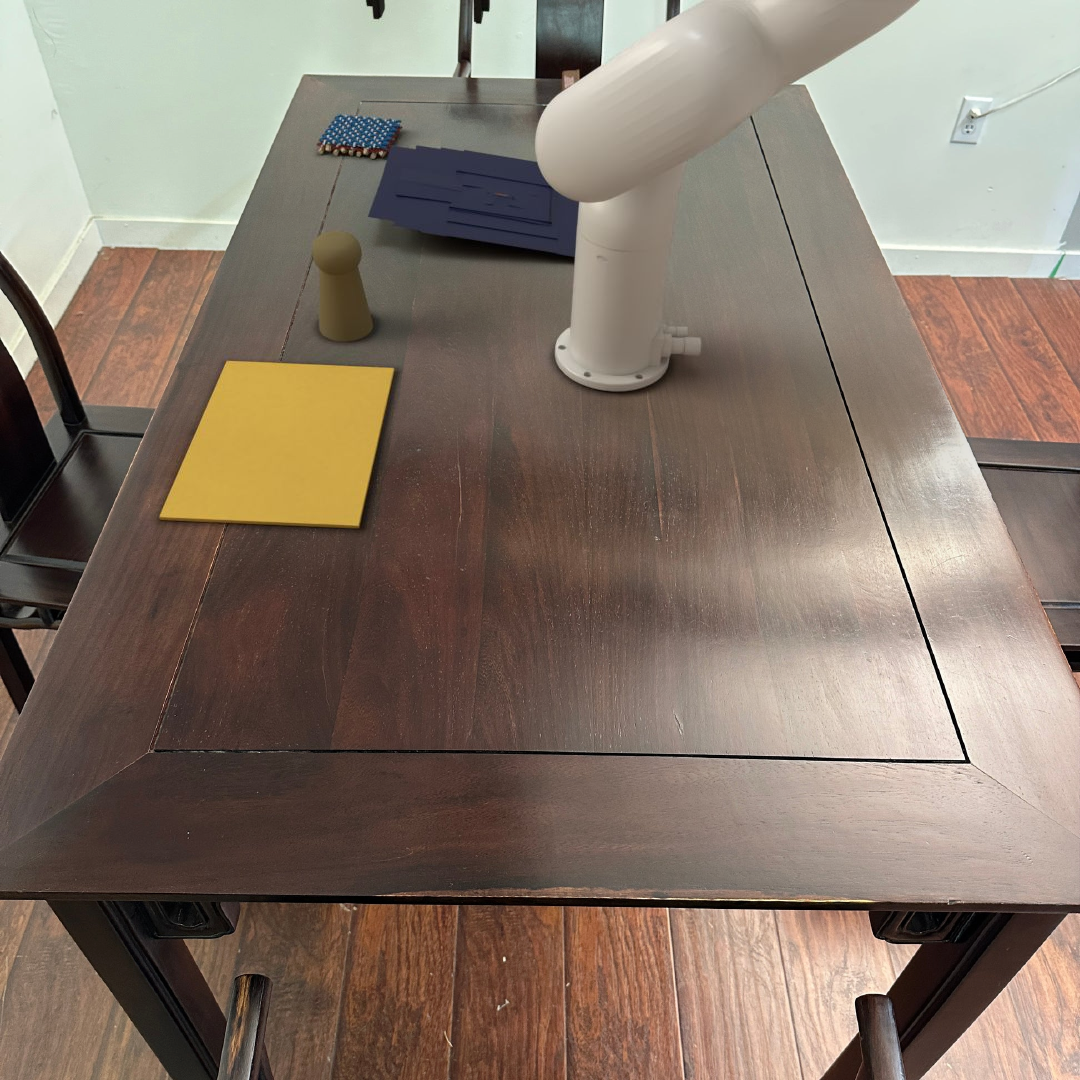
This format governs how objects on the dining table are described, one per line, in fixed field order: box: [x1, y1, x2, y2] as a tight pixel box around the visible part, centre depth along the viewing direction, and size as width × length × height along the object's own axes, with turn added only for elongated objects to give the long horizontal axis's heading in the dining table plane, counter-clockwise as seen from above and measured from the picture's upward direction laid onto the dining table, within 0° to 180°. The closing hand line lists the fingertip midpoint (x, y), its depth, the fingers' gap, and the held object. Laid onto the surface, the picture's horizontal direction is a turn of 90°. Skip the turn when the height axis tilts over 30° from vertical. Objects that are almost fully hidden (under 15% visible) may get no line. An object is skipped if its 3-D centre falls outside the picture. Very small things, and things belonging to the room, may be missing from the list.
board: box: [158, 360, 395, 529], centre depth 95 cm, size 18×24×1 cm
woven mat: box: [316, 113, 403, 160], centre depth 142 cm, size 10×11×2 cm
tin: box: [561, 69, 581, 92], centre depth 143 cm, size 15×3×8 cm, turn 179°
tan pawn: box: [311, 230, 374, 343], centre depth 105 cm, size 6×6×11 cm
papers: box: [367, 144, 579, 258], centre depth 128 cm, size 24×30×4 cm
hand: (429, 16), depth 93 cm, fingers open, 9 cm apart
